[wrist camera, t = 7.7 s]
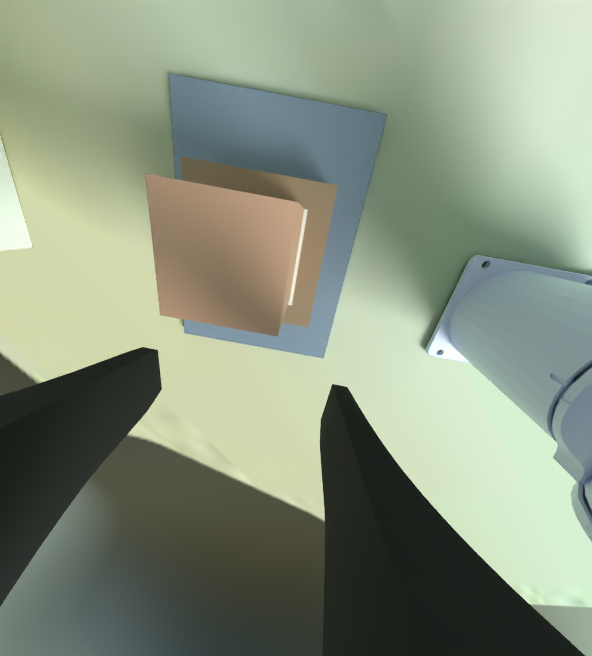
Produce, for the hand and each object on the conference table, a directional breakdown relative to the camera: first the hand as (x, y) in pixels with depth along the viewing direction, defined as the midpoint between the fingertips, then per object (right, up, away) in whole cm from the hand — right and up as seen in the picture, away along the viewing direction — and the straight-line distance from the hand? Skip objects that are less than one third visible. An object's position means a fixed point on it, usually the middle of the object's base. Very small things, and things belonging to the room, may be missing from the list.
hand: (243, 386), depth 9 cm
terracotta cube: (0, +7, +4) cm, 8 cm away
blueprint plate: (0, +8, +7) cm, 11 cm away
